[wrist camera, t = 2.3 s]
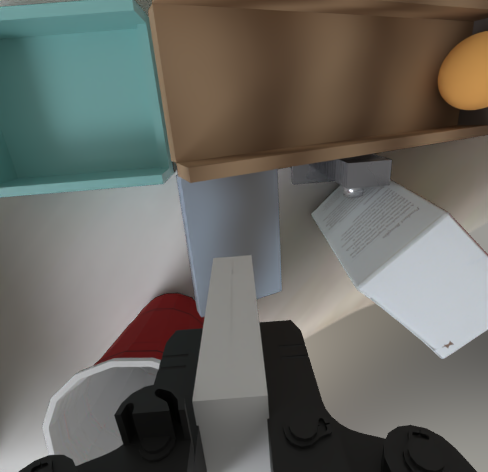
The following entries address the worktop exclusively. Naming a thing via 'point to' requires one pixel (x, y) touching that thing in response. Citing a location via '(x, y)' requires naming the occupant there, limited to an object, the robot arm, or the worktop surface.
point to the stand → (347, 173)
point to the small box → (410, 262)
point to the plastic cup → (114, 381)
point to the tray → (79, 99)
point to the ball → (466, 74)
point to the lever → (294, 104)
